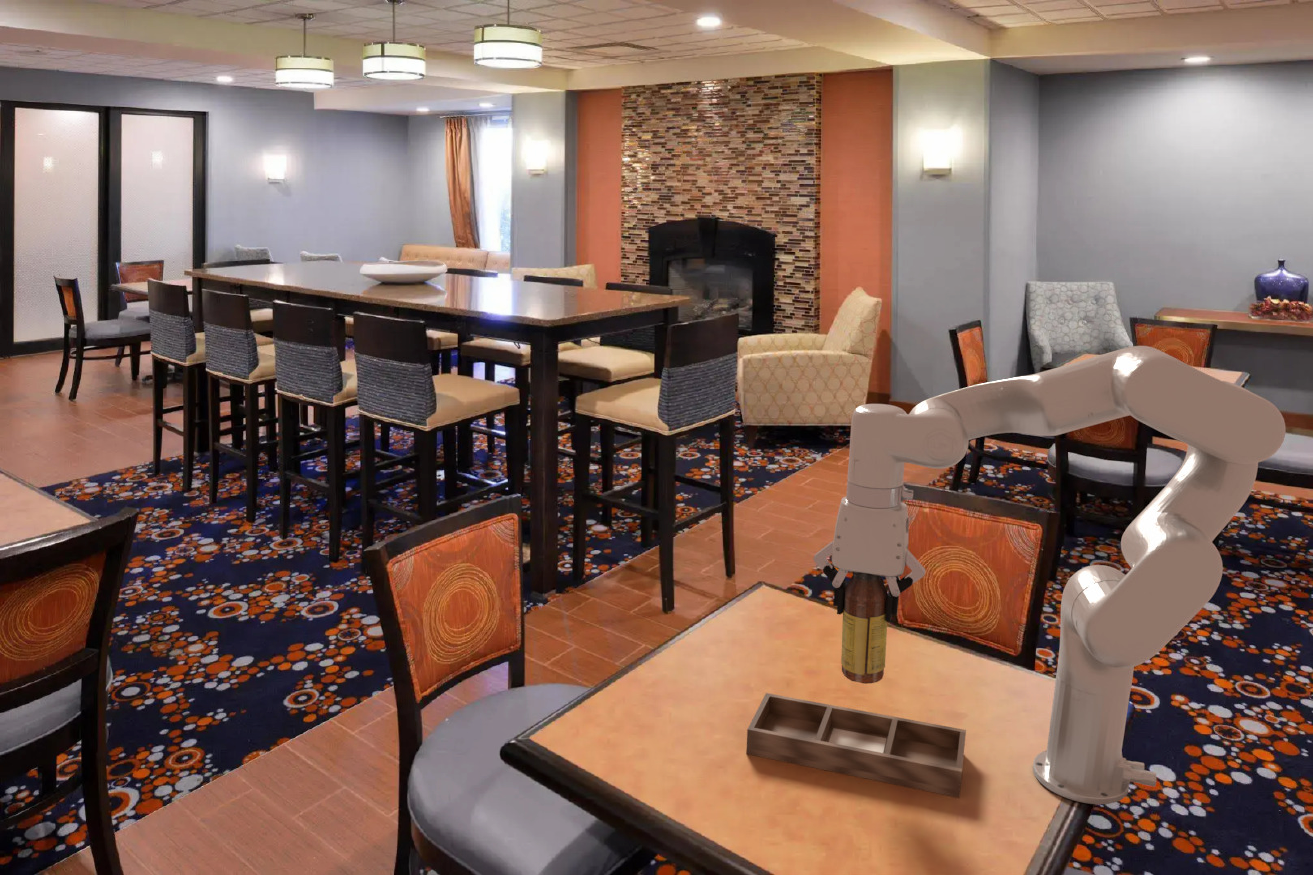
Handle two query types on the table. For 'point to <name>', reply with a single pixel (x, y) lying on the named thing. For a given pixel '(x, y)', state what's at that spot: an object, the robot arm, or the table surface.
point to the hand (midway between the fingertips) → (864, 613)
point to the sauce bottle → (864, 628)
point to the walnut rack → (858, 743)
